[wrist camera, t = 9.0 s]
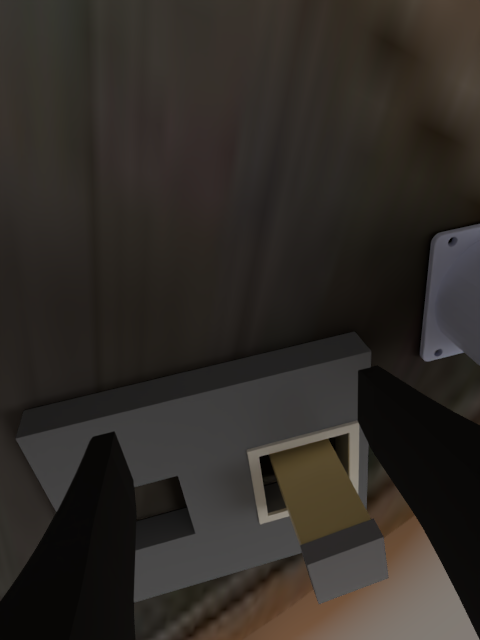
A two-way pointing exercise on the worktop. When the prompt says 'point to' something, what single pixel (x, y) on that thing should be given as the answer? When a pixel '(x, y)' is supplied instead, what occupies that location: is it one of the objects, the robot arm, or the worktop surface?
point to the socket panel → (212, 452)
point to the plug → (329, 521)
